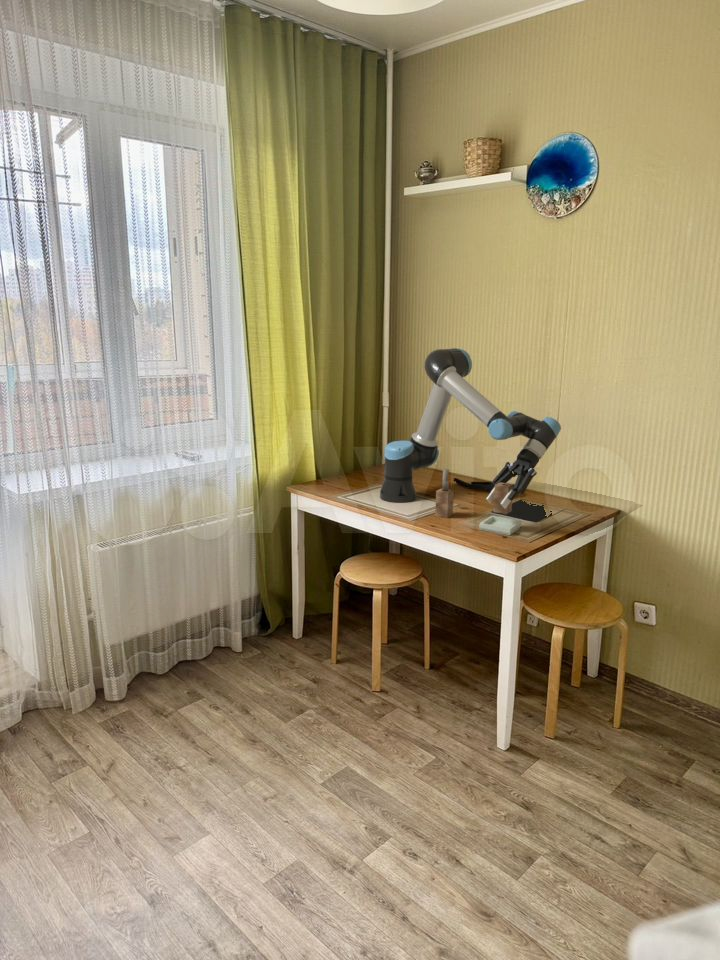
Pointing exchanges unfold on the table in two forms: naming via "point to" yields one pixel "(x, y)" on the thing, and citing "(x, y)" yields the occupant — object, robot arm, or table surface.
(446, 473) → the block
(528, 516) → the tablet
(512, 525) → the tray
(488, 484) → the toy
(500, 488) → the block
